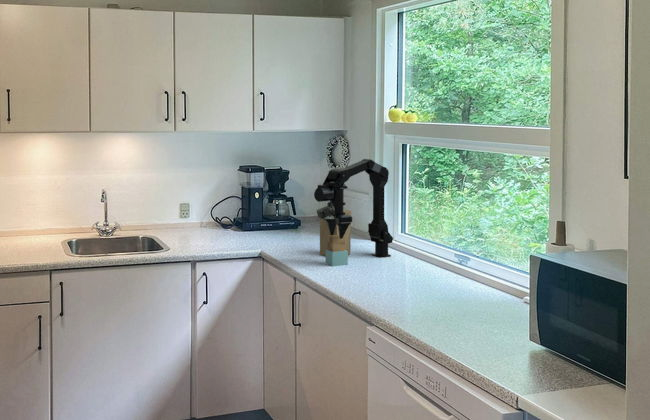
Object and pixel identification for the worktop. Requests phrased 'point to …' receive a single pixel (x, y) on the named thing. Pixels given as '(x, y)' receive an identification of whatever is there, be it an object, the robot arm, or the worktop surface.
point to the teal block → (336, 258)
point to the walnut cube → (336, 243)
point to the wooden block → (325, 233)
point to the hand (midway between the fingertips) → (336, 237)
